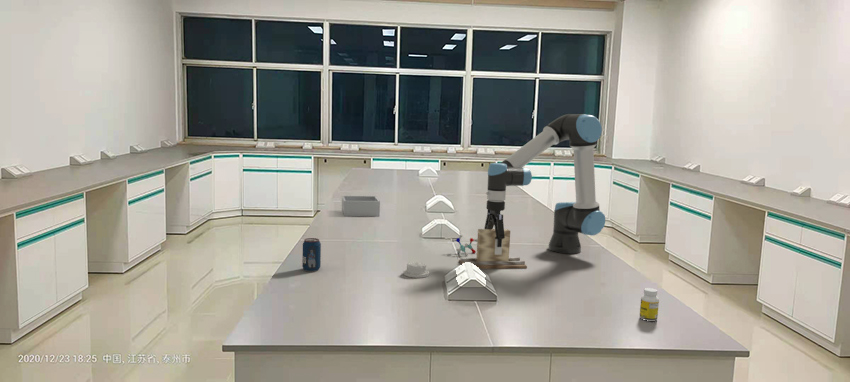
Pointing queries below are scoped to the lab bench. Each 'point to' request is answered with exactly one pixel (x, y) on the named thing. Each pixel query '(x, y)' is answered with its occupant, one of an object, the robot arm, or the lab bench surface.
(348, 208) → the storage crate
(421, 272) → the mechanical component
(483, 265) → the track board
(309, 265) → the soda can
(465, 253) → the molecular model
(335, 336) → the lab bench surface
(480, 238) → the door panel
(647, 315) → the supplement bottle
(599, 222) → the robot arm
